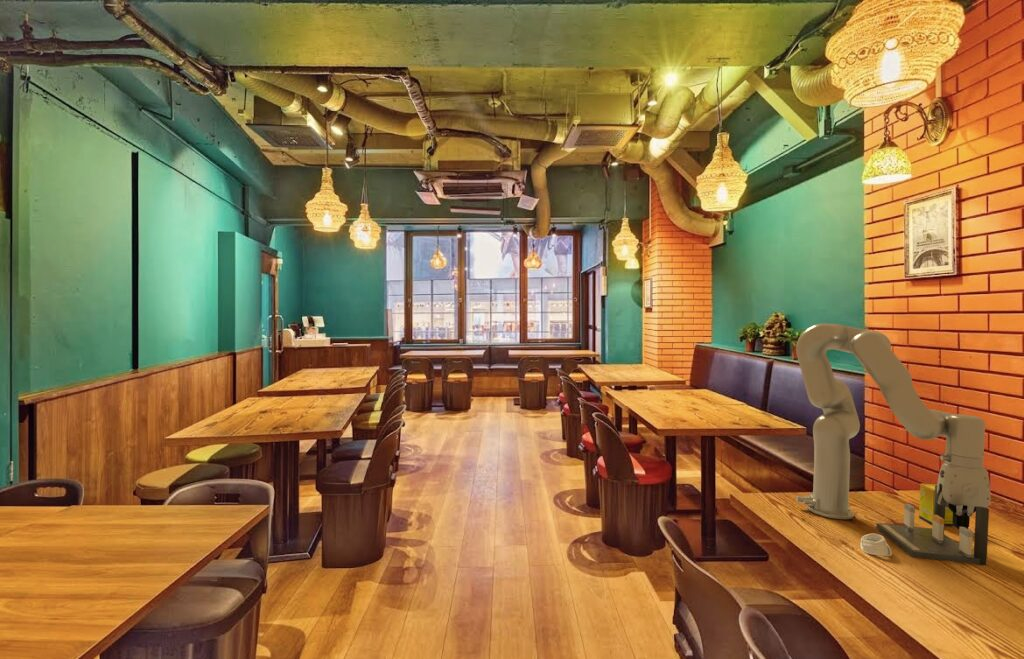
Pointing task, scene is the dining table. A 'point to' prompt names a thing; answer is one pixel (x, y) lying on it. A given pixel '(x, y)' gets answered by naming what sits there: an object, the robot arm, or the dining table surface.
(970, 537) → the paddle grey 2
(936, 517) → the cream block orange end
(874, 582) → the dining table surface
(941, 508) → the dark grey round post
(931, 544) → the panel
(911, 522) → the beige flat bar
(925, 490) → the supplement box
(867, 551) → the grey hollow teardrop piece
